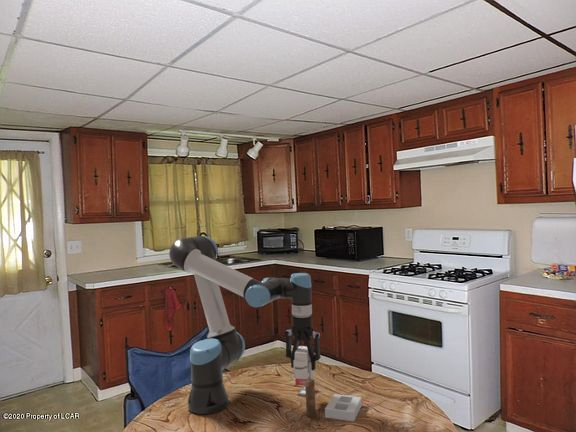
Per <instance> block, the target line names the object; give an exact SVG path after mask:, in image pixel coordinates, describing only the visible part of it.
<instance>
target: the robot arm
mask: <svg viewBox="0 0 576 432" xmlns="http://www.w3.org/2000/svg"><path fill="white" fill-rule="evenodd" d="M169 248H170V249H169V251H168V254H169V259H170V262H171V263H172V264H173V265H174V266H175V267H177V268H178V269H180V271H181V270H182V271H183V272H186V273H187V274H189V273H190V274H192V275H193V276H194V280H195V283H196V286H197V291H198V295H199V298H200V302H201V305H202V308H203V312H204V317H205V319H206V323H207V326H208V330H209V332H208V334H207V338H206V339H202V340H201V339H200V340H199V341H197V342H195V343H194V344H193V345H192V346H191V348H190V350H189V353H190V354H189V362H190V381H191V388H190V392H189V396H188V400H187V410H188V409H189V410H190V411H191V412H190V411H189V410H188V411H189V412H190V413H192V412H193V413H192V414H194V413H197V414H196V415H210V414H211V415H212V414H214V413H218V412H221V411H223V410H224V409H226V408H227V407H228V406H229V404H230V403H229V401H230V399H229V394H228V392H227V389H226V387H225V384H224V379H223V378H224V377H223V370H225V369H227V368H228V367H230V366H231V365H233V364H235V363H236V362H238V361H239V360H241V358H242V356H243V355H244V354H245V351H246V350H245V349H246V342H245V338H244V337H243V336H242V335H241V334H240V333H239V332H237V331H236V330H237V329H236V327H235V326H233V325H231V323H230V320H229V315H228V313H227V309H226V305H225V302H224V298H223V294H222V292H221V288H220V287H222V288H224V289H226V290H228V291H229V292H232V293H234V294H236V295H238V296H240V297H242V298H243V299H245V301H246V303H247V304H248V305H249V306H250V307H252V308H261V307H263V306H265V305H268V304H269V303H271V302H274V301H276V300H278V299H286V300H288V299H289V300H290V299H291V315H292V316H291V325H292V327H291V329H287V330H285V331H284V336H285V344H286V345H285V357H286V358H288V359H290V368H291V369H293V378H295V351H296V350H297V348H298V347H299V346H300V345H299V344H300V342H301V341H302V342H304V343H305V345H306V346H307V349H308V353H309V356H310V361H309V379H312V380H314V376H315V375H314V371H315V370H316V367H317V366H316V365H317V363H316V362H318V361H320V359H321V342H320V338H321V332H320V331H319V332H316V331H315V330H314V329H313V328H314V327H313V316H312V314H313V303H312V302H313V301H312V300H313V299H312V296H313V295H312V294H313V293H312V286H313V285H312V278H311V277H312V276H311V275H310V274H309V273H307V272H297V273H295V272H294V273H292V274H291V275H290V277H289V278H283V277H282V278H281V277H280V278H279V277H265V278H263V279H262V280H261V281H259V280H257V279H255V278H253V277H251V276H249V275H247V274H245V273H242V272H240V271H238V270H236V269H234V268H232V267H230V266H228V265H226V264H223V263H222V262H219V261H217V260H216V259H217V258H218V257H217V256H218V252H219V249H218V246H217V244H216V241H214V239H212V238H211V237H209V236H205V235H204V236H203V235H197V236H191V237H180V238H179V239H176V240H175V241H174V242H173V243H172V244H171V246H170V247H169ZM292 335H293V336H294V340H293V346H292ZM311 337H313V339H314V340H313V341H314V342H312V338H311ZM313 343H314V346H313Z"/></svg>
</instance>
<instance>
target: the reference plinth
mask: <svg viewBox="0 0 576 432" xmlns="http://www.w3.org/2000/svg"><path fill="white" fill-rule="evenodd" d="M297 396H301V397H306V390H305V386H303V387H302V388H301V389H300V390H299V391H298V392H297Z"/></svg>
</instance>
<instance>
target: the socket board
mask: <svg viewBox="0 0 576 432" xmlns="http://www.w3.org/2000/svg"><path fill="white" fill-rule="evenodd" d="M362 406H363V405H362V396H360V397H359V396H353V395H345V394H344V395H343V394H338V393H337V394H336V393H334V394H333V395H332V397H331V399H330V400H329V401H328V403H327V405H326V407H324V418H326V419H333V420H341V421H348V422H355V421H356V418H357V416H358V414H359V412H360V410H361V407H362Z"/></svg>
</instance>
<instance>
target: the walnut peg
mask: <svg viewBox="0 0 576 432" xmlns="http://www.w3.org/2000/svg"><path fill="white" fill-rule="evenodd" d="M305 390H306V396H305V404H306V405H305V407H306V417H307V418H309V419H310V418H311V419H314V418H316V417H317V411H316V410H317V409H316V389H315V380H314V379H308V380H305Z"/></svg>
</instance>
